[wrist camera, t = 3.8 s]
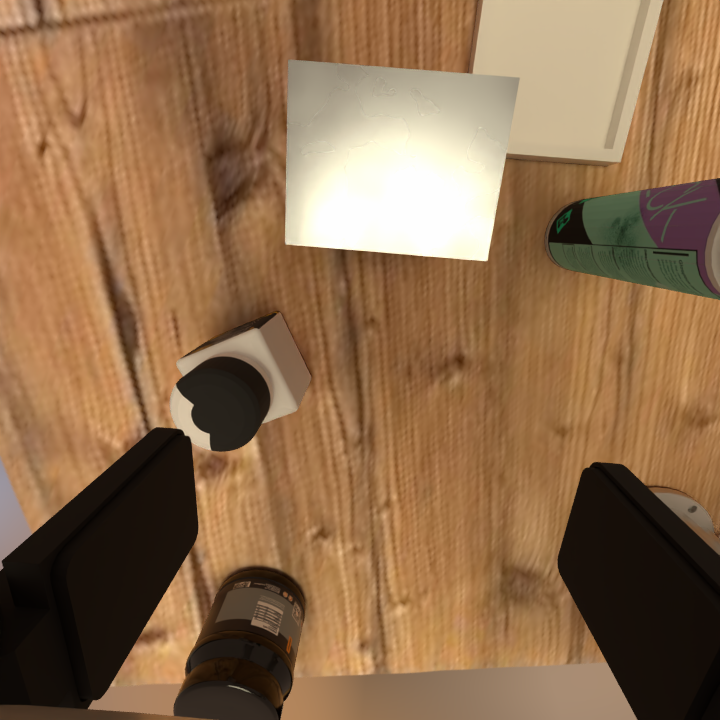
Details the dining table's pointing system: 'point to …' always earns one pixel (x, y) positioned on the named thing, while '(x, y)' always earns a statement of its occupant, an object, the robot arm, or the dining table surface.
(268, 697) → the supplement container
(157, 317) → the dining table surface
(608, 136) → the dish
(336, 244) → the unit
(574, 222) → the spray can
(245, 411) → the medicine bottle
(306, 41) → the dining table surface
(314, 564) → the dining table surface
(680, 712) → the robot arm
